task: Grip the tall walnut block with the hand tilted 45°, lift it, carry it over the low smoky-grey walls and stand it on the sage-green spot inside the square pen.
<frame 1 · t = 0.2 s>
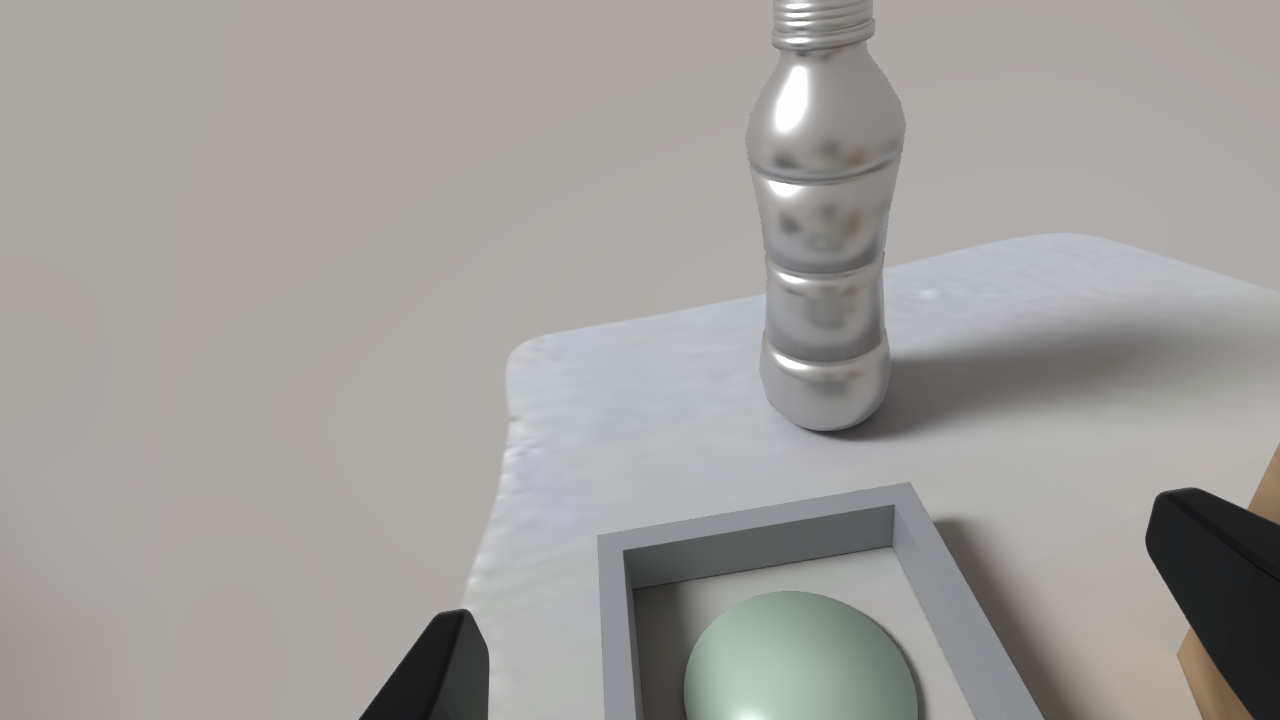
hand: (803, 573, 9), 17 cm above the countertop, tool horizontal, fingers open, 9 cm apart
plastic bottle: (824, 408, 37), on the countertop
walled pen: (796, 692, 25), on the countertop
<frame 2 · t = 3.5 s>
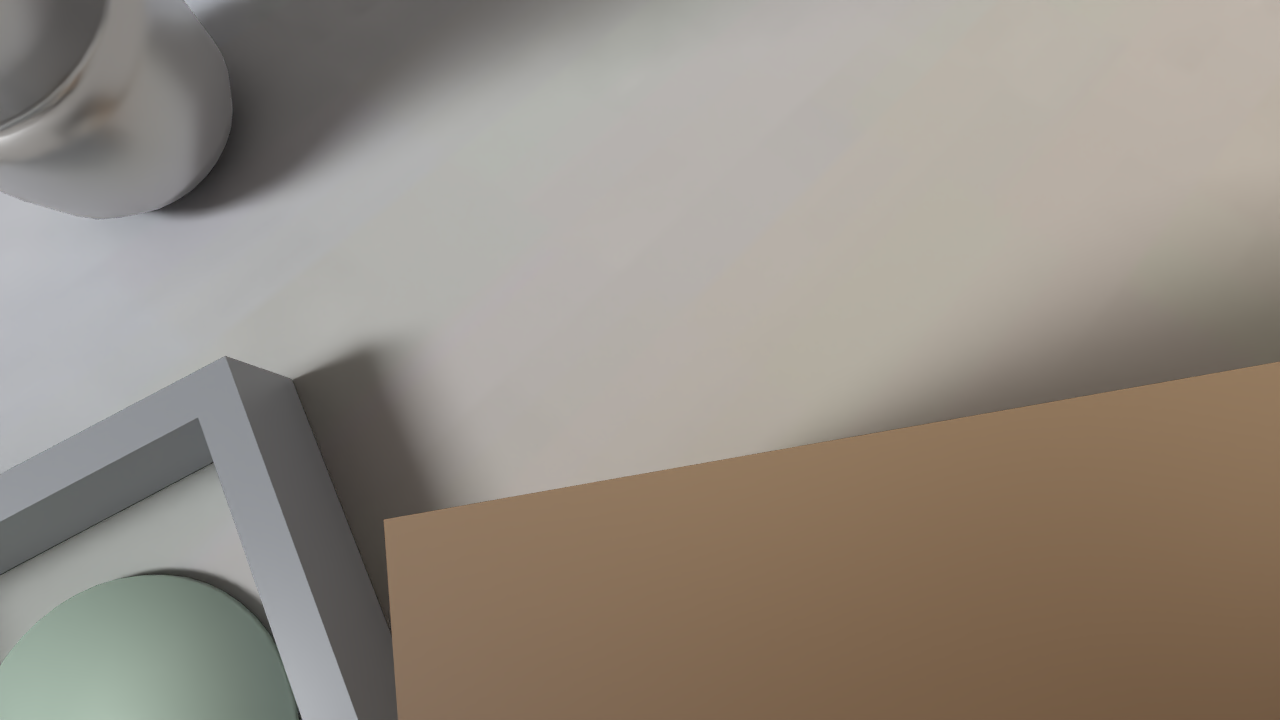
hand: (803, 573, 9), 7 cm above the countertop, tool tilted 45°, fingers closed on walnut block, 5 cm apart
plastic bottle: (165, 141, 20), on the countertop
walnut block: (780, 620, 15), on the countertop, touching gripper
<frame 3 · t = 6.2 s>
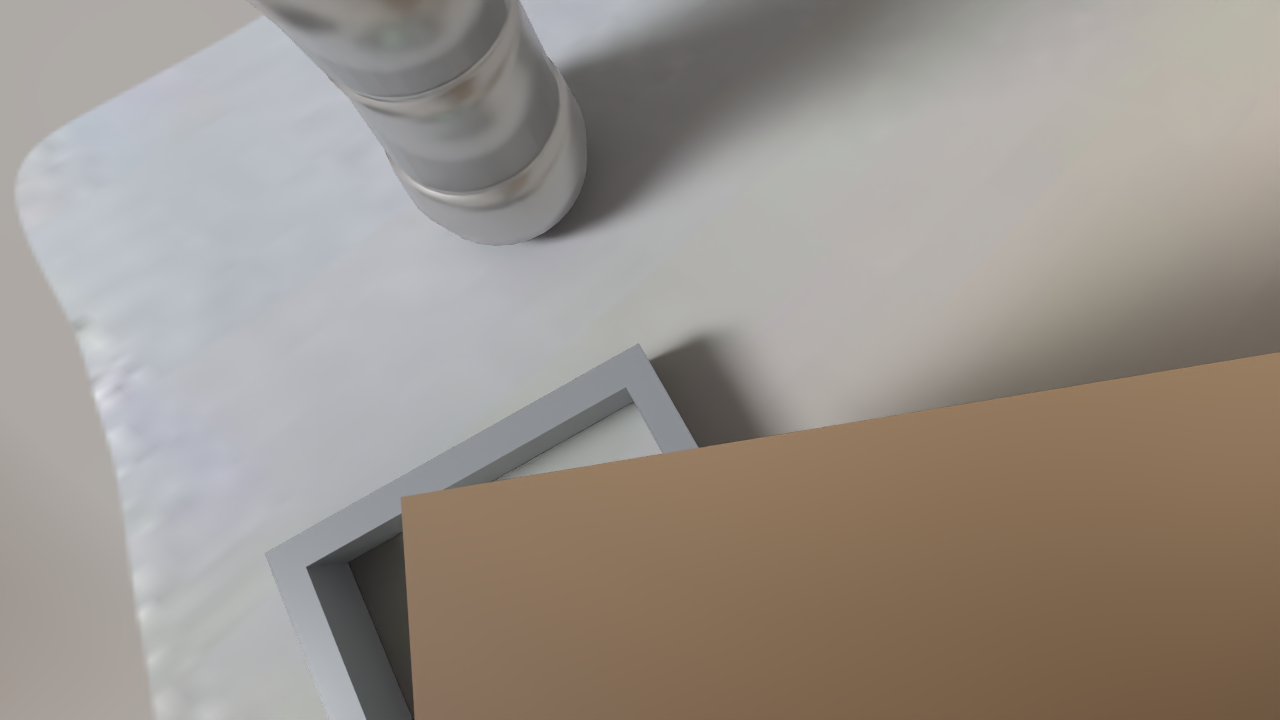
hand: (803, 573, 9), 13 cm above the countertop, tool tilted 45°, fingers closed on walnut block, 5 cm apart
plastic bottle: (514, 183, 26), on the countertop
walled pen: (566, 634, 22), on the countertop
walnut block: (790, 617, 15), point 7 cm above the countertop, touching gripper
when the fingers open (8 cm above the countertop, at t = 8.5 s): walnut block moves 1 cm, resting on walled pen.
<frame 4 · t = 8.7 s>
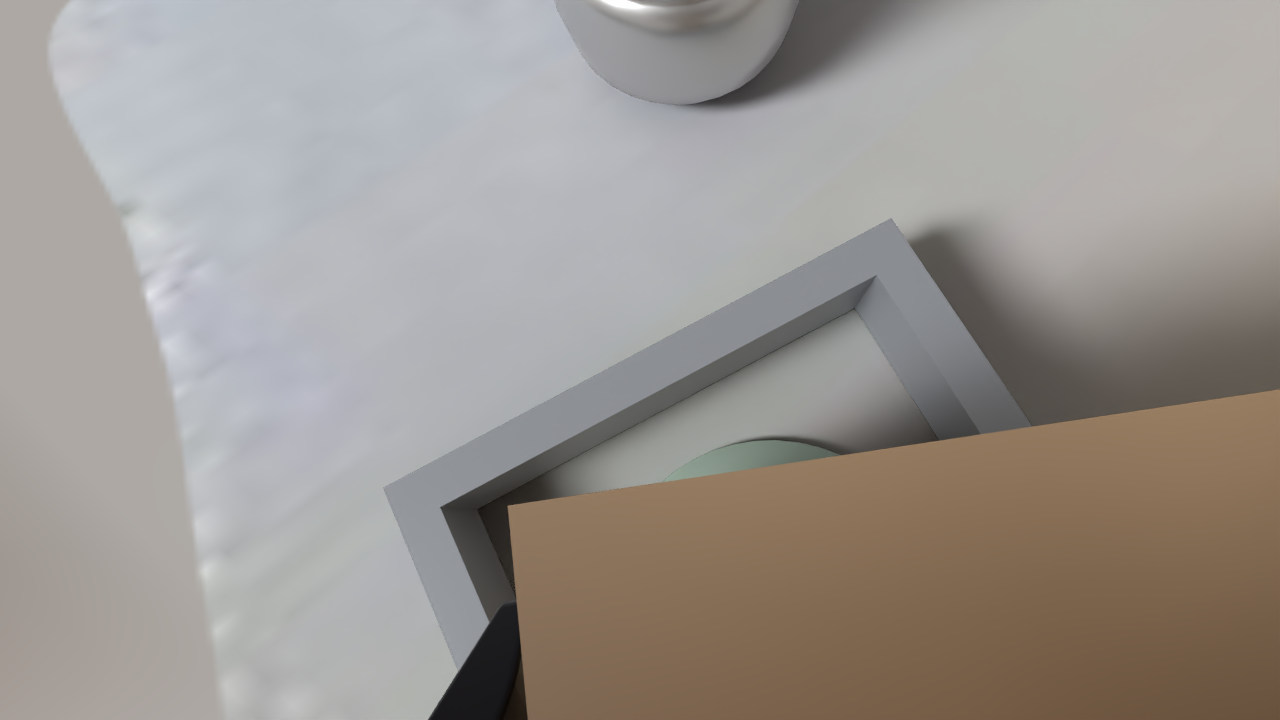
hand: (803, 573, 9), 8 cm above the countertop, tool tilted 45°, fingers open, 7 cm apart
plastic bottle: (681, 40, 21), on the countertop
walled pen: (774, 609, 17), on the countertop
walnut block: (778, 612, 16), resting on walled pen
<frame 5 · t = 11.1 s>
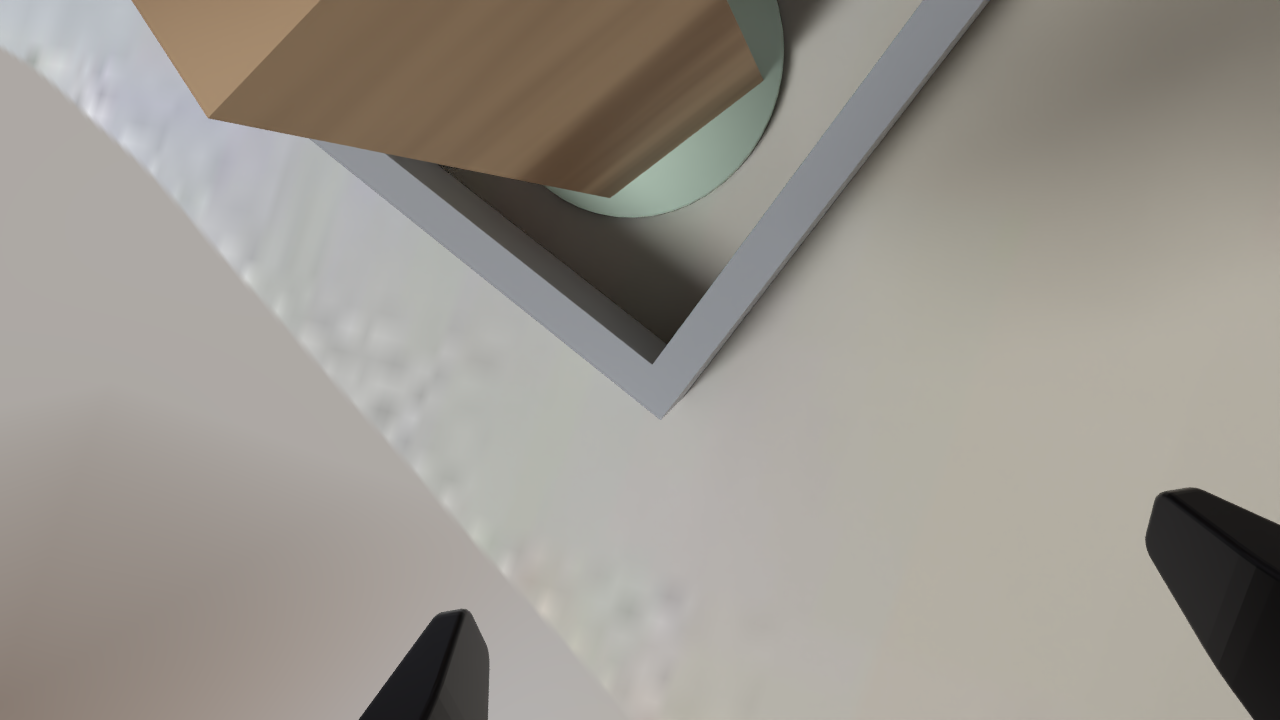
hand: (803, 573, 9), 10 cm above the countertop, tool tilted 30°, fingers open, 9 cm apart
walled pen: (633, 66, 19), on the countertop
walnut block: (631, 63, 19), resting on walled pen
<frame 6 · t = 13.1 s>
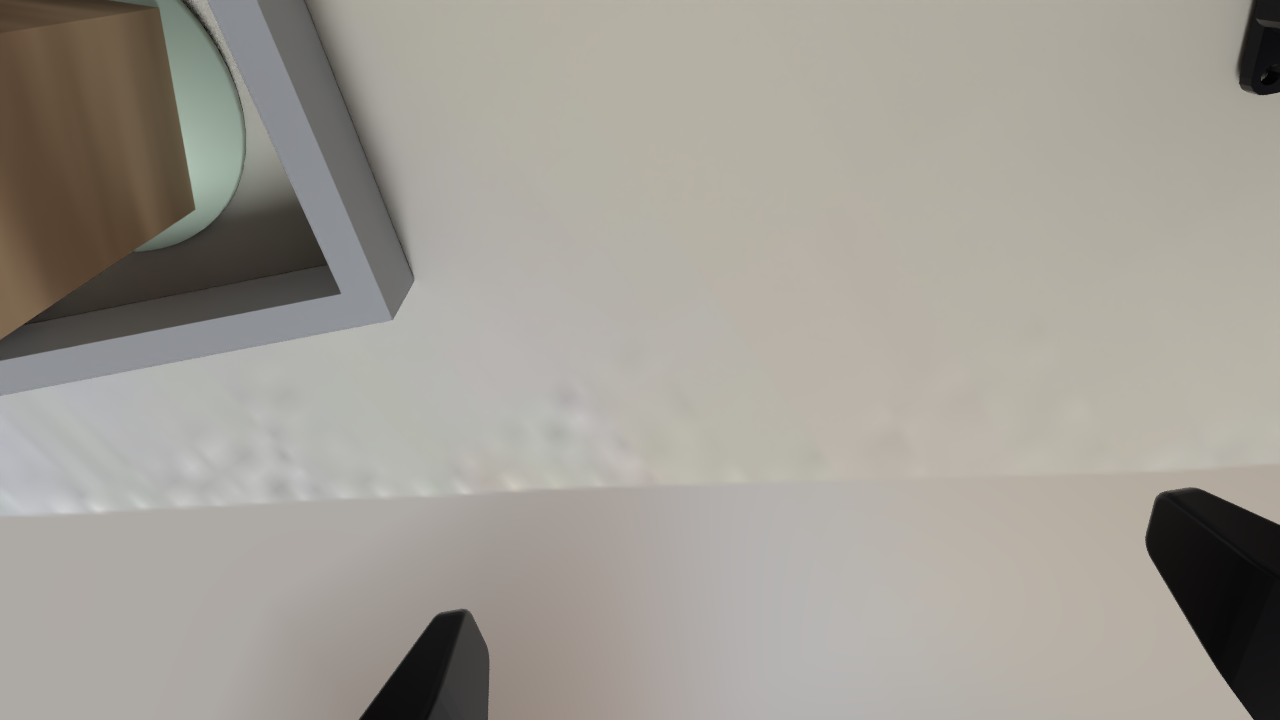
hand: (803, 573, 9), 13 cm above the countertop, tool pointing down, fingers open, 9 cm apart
walled pen: (80, 100, 18), on the countertop
walnut block: (73, 101, 18), resting on walled pen
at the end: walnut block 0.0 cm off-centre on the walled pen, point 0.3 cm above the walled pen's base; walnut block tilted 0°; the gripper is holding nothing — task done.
